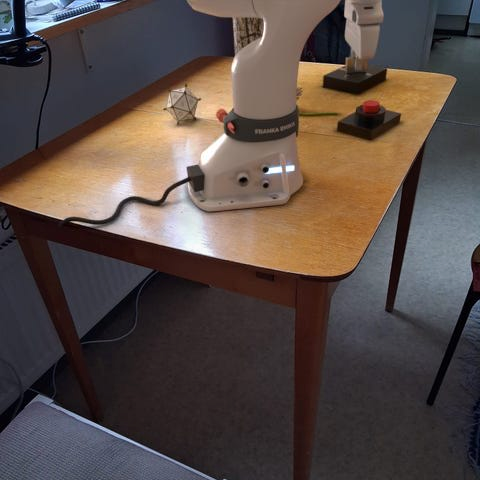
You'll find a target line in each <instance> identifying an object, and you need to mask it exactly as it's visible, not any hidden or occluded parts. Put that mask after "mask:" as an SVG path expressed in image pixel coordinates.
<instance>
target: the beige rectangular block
mask: <svg viewBox="0 0 480 480" xmlns="http://www.w3.org/2000/svg"><path fill="white" fill-rule="evenodd" d="M355 60H356V57H352V56H348V57H345V64H344V66H345V72H346V73H356V72H366V70H367V65H368V60H369V59H367V60H364V61H363V63H362V69H361V70H360V71H356V70H355V69H354V62H355Z"/></svg>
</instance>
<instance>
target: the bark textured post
mask: <svg viewBox="0 0 480 480" xmlns="http://www.w3.org/2000/svg"><path fill="white" fill-rule="evenodd" d="M232 25H233V26H232V28H233V46H234V57H235V56H236V54H237V53H238V52H239V51H240V50H241V49H242V48H244V47H245V46H247V45H248V44H250V43H251V42H253V41H255V40H257V39H259V38H260V37H262V35H263V30H264V20H263V19H262V18H247V17H232Z"/></svg>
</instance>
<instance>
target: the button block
mask: <svg viewBox="0 0 480 480" xmlns="http://www.w3.org/2000/svg"><path fill="white" fill-rule="evenodd" d="M362 109H363V104H360V105H358V106H357V107H355V111H354V112H352V113H350V114H349V115H347V116H345V117H343V118H341V119H339V120H337V125H336V126H337V127H336V131H337V132H339V133H342V134H346V135H350V136H354V137H356V138H360V139H363V140H367V141H372V140H374V139H376V138H377V137H379V136H380V135H383V134H385V133H386V132H387V131H389V130H391V129H392V128H394V127H396V126H397V125H399V124H400V122H401V117H402V113H401V112H397V111H394V110H388V109H386V107H385V106H383V105H379V111H378V112H375V113H367V112H363V111H362Z"/></svg>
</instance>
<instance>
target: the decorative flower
mask: <svg viewBox="0 0 480 480" xmlns="http://www.w3.org/2000/svg"><path fill="white" fill-rule="evenodd" d="M303 92H304V90H303V87H300V86H299V87H298V86H297V93H296V101H299V99H300V96H302V93H303ZM298 113H299V116H310V117H311V116H325V115H326V116H327V115H335V116H336V115H338V112H317V113H304V112H300V111H298Z"/></svg>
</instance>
